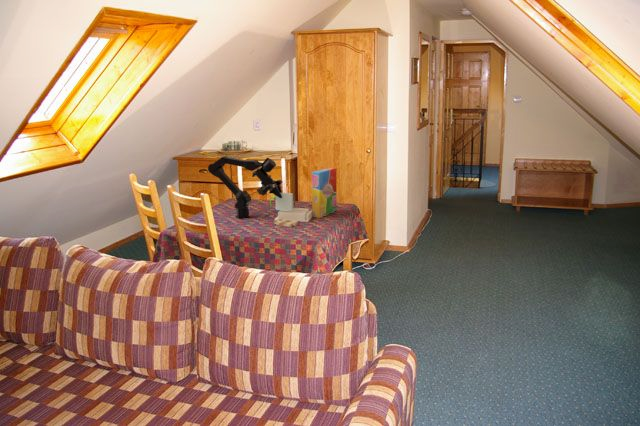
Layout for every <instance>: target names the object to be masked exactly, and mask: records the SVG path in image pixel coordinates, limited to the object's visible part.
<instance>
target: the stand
mask: <svg viewBox="0 0 640 426" xmlns="http://www.w3.org/2000/svg"><path fill="white" fill-rule="evenodd" d="M273 222H274V225H275V224H276V226H281V227H282V226H283V227H286V228H287V227H288V228H293V226H294V227H296V226H298V225H299V223H298V221H291V220H285V219H279V221H278V220H276V221H275V220H274V221H273Z"/></svg>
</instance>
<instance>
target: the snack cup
mask: <svg viewBox="0 0 640 426" xmlns="http://www.w3.org/2000/svg"><path fill="white" fill-rule="evenodd" d="M273 199H274V201H275V202H274V203H275V204H276V195H273V196H272V197H271V199H270V200H269V204H270V208H272V205H273V204H272V202H273ZM294 206H295V207H296V199H295V197H294V196H293V207H294ZM279 211H281V210H276V212H277V213H278V212H279Z"/></svg>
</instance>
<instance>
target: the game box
mask: <svg viewBox="0 0 640 426" xmlns="http://www.w3.org/2000/svg"><path fill="white" fill-rule="evenodd" d="M311 197H312V198H311V204H312V205H311V210H312V218H315V217H316V219H317V218H318V219H320V218H323V216H324V217H325V216H328V214H329V215H330V213H331V214H333V212H334V213H336V212H337V206H338V205H337V203H338V202H337V201H338V200H337V199H338V198H337V168H336V167H327V168H323V169H319V170H314V171H312V172H311ZM335 211H336V212H335Z"/></svg>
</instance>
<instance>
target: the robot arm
mask: <svg viewBox="0 0 640 426" xmlns="http://www.w3.org/2000/svg"><path fill="white" fill-rule="evenodd" d="M225 165H232V166H236V167H242V168H244V169H245V170H248V171H250V172H252V178H254V177H256V178H257V179H259V180H260V184H261V186H260V187H258V188H257V190H256V191H257V193H258V195H259V196H260V195H261V196H265V195H267V193H268V194H272V195H273V196H275V195H276V196H278V197H279V198H282V196H281V193H283V190H282V186H281V185H282V184H283V181H282V180H281V179H277V180H276V179H275V180H274V179H273V177H272V175H271V174H269V173H270V172H272V170H273V169H274V168H275V167H277V164H276V162H275V161H274V160H273V159H271V158H270V157H266V158H265V159H264V161H263V162H261V161H259V160H257V159H242V158H236V157H230V156H227V155H223V156H221V157H220V158H219V159H217V160H216V161H214V162H213V163H210V164H209V165H208V167H207V171H208V172H209V173H210V174H211V175H212V176H213V177H216V178H218V179H219V180H220V181H221V182H222V184H223V185H224V186H225V187H227V189H228V190H229V191H230V192H231V193H232V194H233V195H234V197H235V200H236V201H237V202H236V203H235V204H234V208H235V210H236V212H235V213H236V215H235V218H238V219H239V220H240V219H246V218H250V211H249V206H250V203H251V202H252V197H251V194H250V193H248V191H247V190H246V189H245V190H242V189H240V187H239V186H238V185H237V184H236V183H235V182H234V181H233V180H232V179H231V178H230V177H229V176H228V175H227V173H226V172H225V170H224V166H225ZM268 191H269V192H268Z"/></svg>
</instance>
